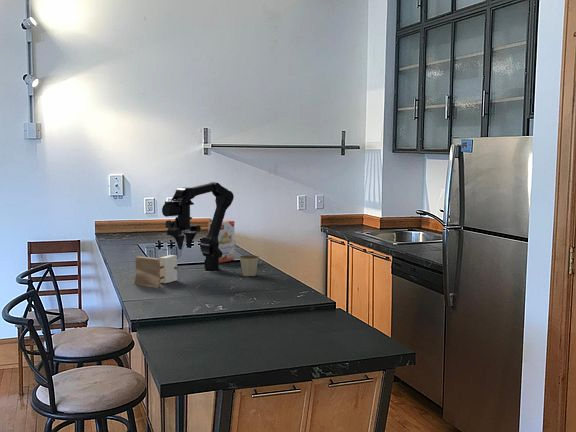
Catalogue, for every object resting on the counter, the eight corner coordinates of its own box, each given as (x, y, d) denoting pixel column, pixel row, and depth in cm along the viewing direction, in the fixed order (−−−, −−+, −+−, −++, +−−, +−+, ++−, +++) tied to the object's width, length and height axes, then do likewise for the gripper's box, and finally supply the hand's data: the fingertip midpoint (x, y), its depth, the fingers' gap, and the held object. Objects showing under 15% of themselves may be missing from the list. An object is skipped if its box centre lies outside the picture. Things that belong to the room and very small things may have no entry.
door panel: (171, 279, 286) (171, 254, 285) (179, 280, 284) (179, 255, 283) (160, 282, 279) (159, 257, 278) (167, 283, 277) (167, 258, 276)
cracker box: (216, 264, 325) (216, 223, 322) (207, 262, 328) (207, 222, 326) (235, 260, 336) (234, 220, 334) (226, 259, 339) (226, 219, 337)
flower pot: (256, 277, 292) (256, 258, 291) (236, 276, 294) (236, 258, 293) (261, 273, 302) (261, 255, 301) (242, 272, 303) (242, 254, 302)
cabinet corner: (154, 278, 290) (153, 251, 289) (179, 281, 283) (179, 254, 282) (131, 284, 277) (131, 256, 275) (157, 287, 270) (156, 259, 269)
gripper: (182, 212, 308) (182, 244, 309) (156, 215, 291) (157, 250, 293) (201, 213, 302) (201, 246, 304) (176, 217, 286) (177, 252, 288)
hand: (184, 248), depth 297 cm, fingers open, 6 cm apart
